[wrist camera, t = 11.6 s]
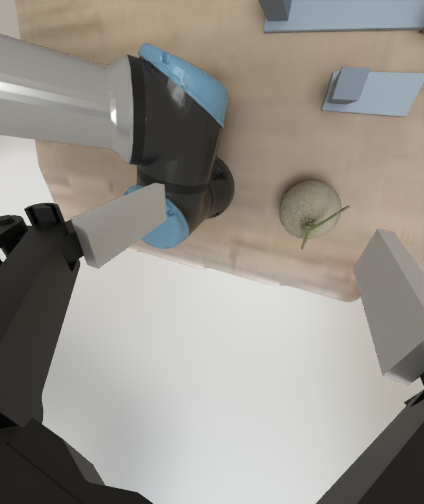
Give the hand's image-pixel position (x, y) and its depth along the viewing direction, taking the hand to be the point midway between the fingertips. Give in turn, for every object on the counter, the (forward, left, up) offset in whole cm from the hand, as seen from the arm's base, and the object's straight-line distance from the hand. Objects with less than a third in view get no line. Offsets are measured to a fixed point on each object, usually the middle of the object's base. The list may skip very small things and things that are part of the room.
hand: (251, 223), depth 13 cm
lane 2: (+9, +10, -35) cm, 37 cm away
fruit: (+6, -9, -35) cm, 37 cm away
